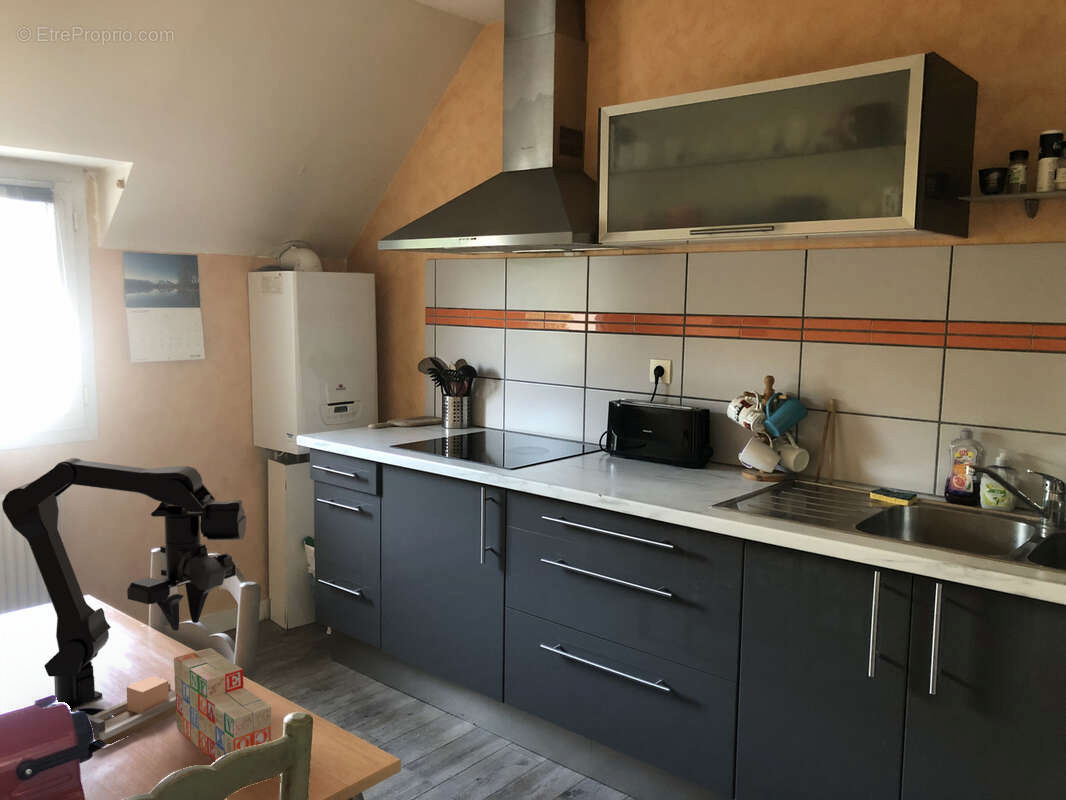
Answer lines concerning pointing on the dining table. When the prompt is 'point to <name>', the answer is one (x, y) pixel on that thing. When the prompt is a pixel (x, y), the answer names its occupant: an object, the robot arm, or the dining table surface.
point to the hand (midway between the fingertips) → (185, 626)
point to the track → (129, 719)
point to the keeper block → (147, 694)
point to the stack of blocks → (218, 704)
